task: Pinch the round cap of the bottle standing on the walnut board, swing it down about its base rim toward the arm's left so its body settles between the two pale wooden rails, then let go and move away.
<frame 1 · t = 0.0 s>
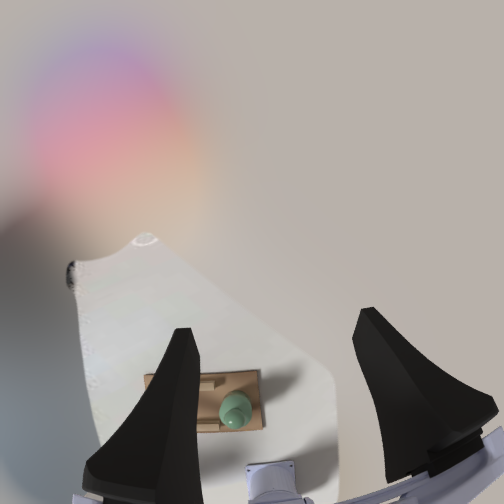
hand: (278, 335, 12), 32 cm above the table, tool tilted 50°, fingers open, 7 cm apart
rest board: (202, 403, 39), on the table
bottle: (236, 403, 39), point 1 cm above the table, touching rest board
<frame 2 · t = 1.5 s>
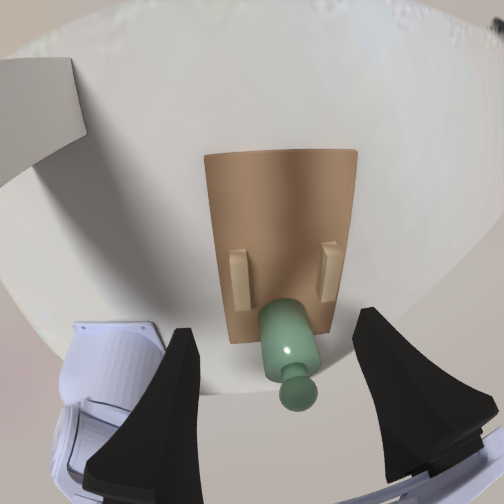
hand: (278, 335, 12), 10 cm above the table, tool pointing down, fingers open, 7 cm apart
rest board: (282, 262, 22), on the table
bottle: (281, 315, 25), point 1 cm above the table, touching rest board
milk: (47, 110, 14), on the table
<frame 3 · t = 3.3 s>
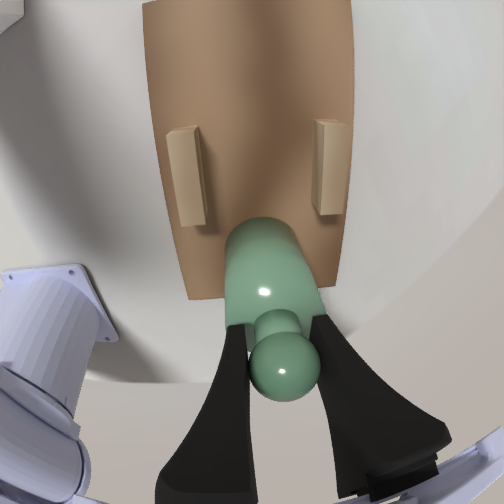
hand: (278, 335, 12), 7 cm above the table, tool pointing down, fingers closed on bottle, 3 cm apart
rest board: (256, 155, 14), on the table
bottle: (261, 250, 17), point 1 cm above the table, touching gripper, rest board
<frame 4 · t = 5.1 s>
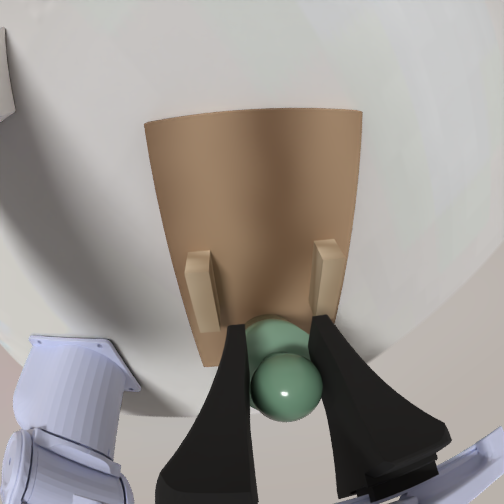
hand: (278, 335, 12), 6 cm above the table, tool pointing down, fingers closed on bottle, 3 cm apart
rest board: (262, 268, 17), on the table
bottle: (268, 346, 18), point 2 cm above the table, tilted 41°, touching gripper, rest board
when the fingers open (2 cm above the table, at t = 6.5 s): bottle stays where it is and tips over, resting on rest board.
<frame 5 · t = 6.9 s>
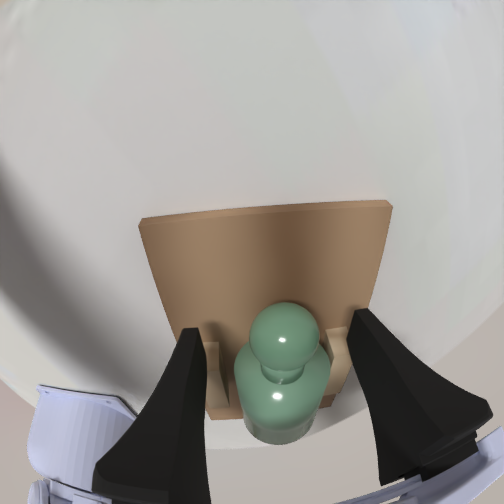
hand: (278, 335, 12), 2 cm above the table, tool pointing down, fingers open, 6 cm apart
rest board: (271, 349, 16), on the table
bottle: (278, 413, 15), point 3 cm above the table, tilted 90°, touching rest board
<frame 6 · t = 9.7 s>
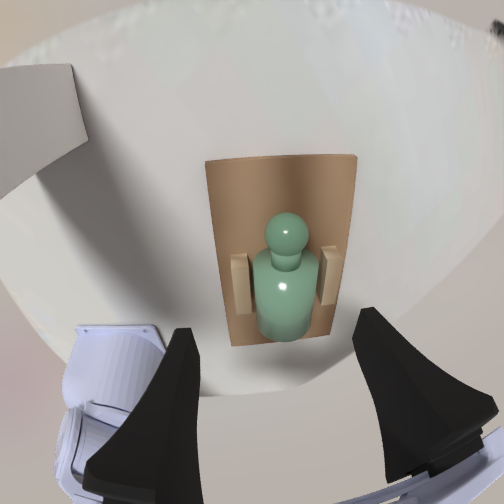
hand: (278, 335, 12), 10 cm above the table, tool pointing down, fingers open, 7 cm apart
rest board: (282, 266, 23), on the table
bottle: (283, 320, 22), point 3 cm above the table, tilted 90°, touching rest board
milk: (48, 116, 14), on the table
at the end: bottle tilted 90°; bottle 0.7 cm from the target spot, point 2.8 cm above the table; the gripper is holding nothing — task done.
